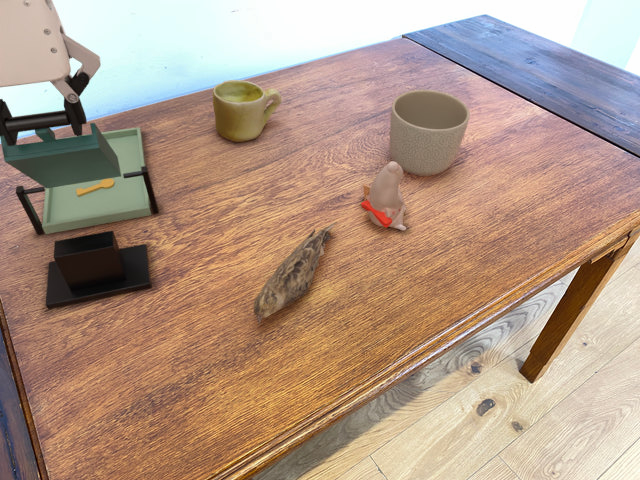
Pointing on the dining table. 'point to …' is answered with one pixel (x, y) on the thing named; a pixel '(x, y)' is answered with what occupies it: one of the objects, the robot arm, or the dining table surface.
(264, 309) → the bird model
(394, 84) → the dining table surface
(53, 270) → the stand
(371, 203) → the figurine
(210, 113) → the dining table surface
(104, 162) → the scoop
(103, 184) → the key
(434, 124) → the planter
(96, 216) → the tray
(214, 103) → the mug
